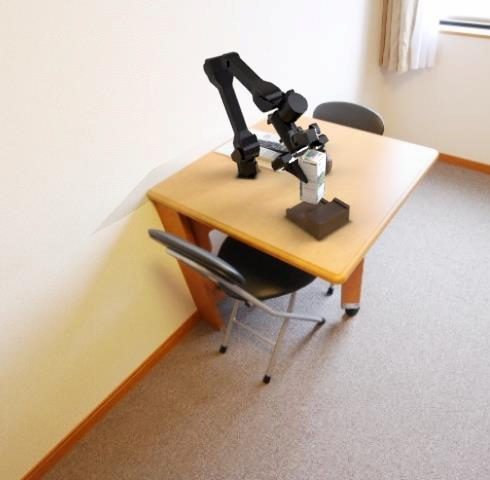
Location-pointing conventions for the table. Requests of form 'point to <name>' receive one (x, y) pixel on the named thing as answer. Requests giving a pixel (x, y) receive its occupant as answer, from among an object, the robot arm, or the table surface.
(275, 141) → the table surface
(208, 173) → the table surface
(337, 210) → the dark brown boxy piece
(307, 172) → the syrup box
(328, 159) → the vase
